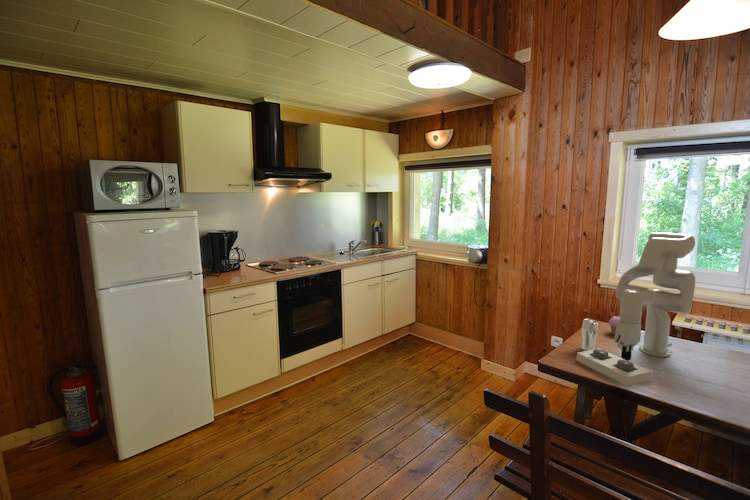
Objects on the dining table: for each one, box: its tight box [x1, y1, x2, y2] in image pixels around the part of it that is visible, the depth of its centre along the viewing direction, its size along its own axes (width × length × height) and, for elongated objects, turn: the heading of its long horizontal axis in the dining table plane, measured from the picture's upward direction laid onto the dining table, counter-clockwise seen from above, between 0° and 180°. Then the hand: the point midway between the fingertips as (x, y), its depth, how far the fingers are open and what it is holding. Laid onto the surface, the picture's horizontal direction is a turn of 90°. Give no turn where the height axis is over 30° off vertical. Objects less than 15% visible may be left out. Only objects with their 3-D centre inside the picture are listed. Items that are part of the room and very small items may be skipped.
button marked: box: [617, 360, 635, 372], centre depth 163 cm, size 6×6×3 cm
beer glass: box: [580, 318, 599, 351], centre depth 190 cm, size 7×7×15 cm
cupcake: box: [608, 315, 620, 336], centre depth 209 cm, size 9×9×10 cm
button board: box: [576, 347, 652, 387], centre depth 169 cm, size 14×25×4 cm, turn 20°
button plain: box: [593, 348, 609, 360], centre depth 174 cm, size 6×6×3 cm
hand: (625, 359), depth 162 cm, fingers closed
